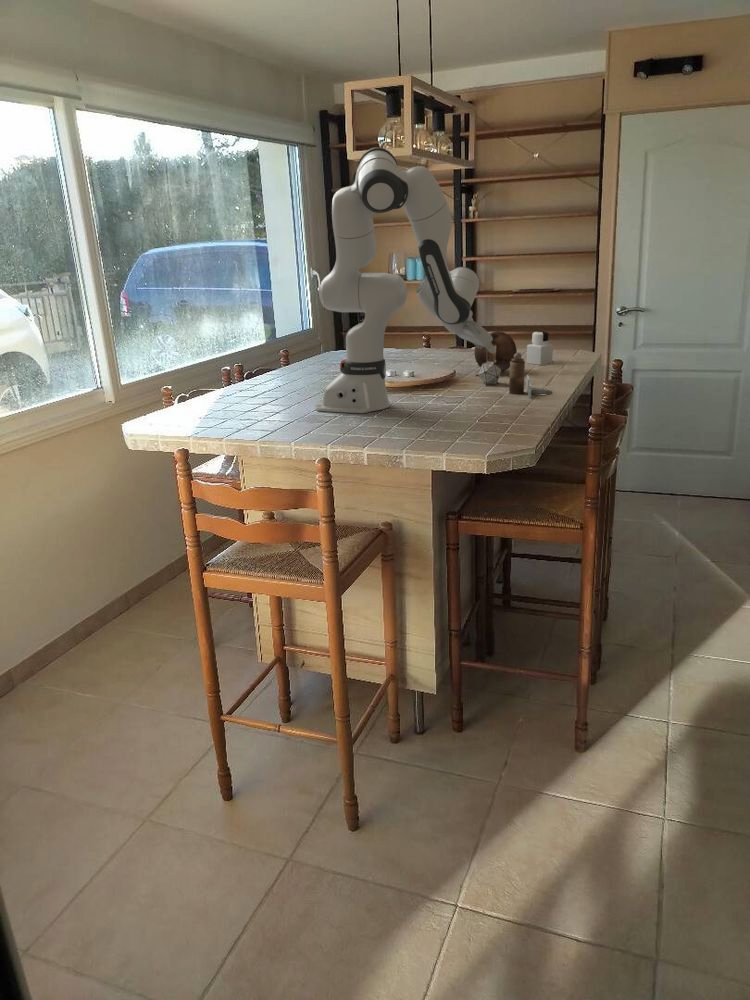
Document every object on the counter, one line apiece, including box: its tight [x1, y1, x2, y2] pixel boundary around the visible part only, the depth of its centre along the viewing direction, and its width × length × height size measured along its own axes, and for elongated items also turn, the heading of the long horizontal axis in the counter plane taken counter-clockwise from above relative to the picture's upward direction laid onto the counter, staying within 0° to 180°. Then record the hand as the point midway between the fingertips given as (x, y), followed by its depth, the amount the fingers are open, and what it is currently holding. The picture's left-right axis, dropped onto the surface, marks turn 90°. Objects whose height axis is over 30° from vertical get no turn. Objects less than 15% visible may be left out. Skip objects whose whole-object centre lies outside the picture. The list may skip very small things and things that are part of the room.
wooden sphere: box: [474, 330, 518, 373], centre depth 274 cm, size 15×15×15 cm
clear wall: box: [525, 374, 532, 399], centre depth 242 cm, size 1×18×4 cm, turn 172°
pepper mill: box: [508, 352, 526, 395], centre depth 241 cm, size 5×5×13 cm
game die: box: [475, 360, 505, 387], centre depth 256 cm, size 9×8×10 cm
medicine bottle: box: [525, 330, 554, 366], centre depth 291 cm, size 7×7×12 cm
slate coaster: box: [531, 388, 552, 395], centre depth 242 cm, size 7×7×1 cm
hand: (487, 349), depth 235 cm, fingers open, 8 cm apart
